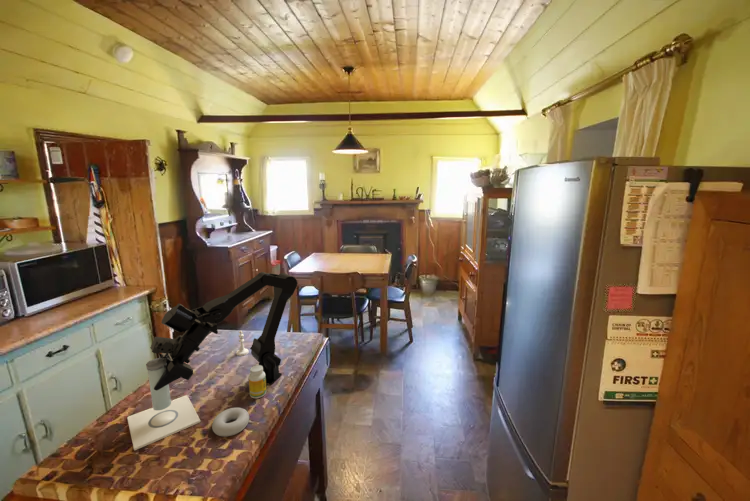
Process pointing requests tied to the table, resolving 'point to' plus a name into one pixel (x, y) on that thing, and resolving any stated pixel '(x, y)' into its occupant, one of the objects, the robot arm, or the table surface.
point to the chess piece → (241, 346)
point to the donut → (234, 427)
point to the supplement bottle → (257, 382)
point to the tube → (154, 373)
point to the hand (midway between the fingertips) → (153, 385)
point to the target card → (161, 422)
